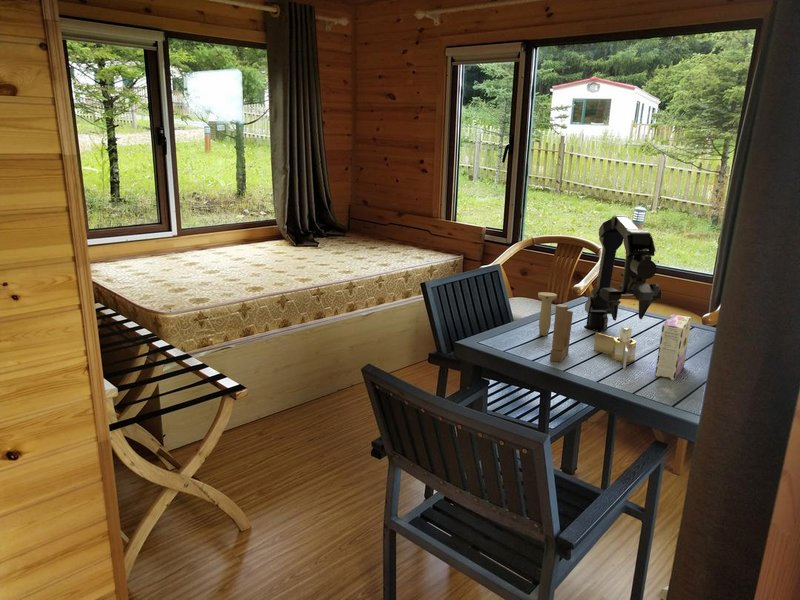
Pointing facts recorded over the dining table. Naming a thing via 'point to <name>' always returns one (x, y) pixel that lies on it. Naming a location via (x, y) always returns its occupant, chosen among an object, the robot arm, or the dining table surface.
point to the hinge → (615, 347)
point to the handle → (545, 312)
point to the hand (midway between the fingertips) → (627, 319)
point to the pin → (625, 335)
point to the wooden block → (561, 333)
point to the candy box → (673, 346)
